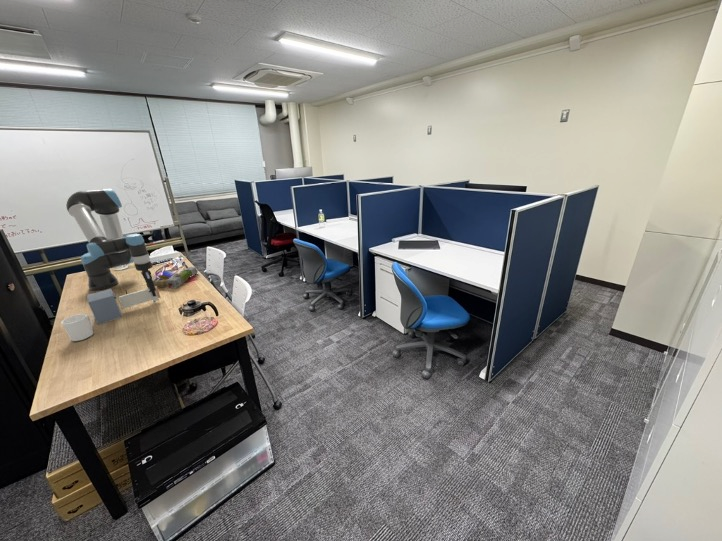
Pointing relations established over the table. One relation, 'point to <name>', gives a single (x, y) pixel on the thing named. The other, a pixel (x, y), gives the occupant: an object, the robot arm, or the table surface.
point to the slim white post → (137, 297)
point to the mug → (78, 327)
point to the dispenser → (104, 306)
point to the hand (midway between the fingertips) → (155, 298)
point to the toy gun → (174, 278)
